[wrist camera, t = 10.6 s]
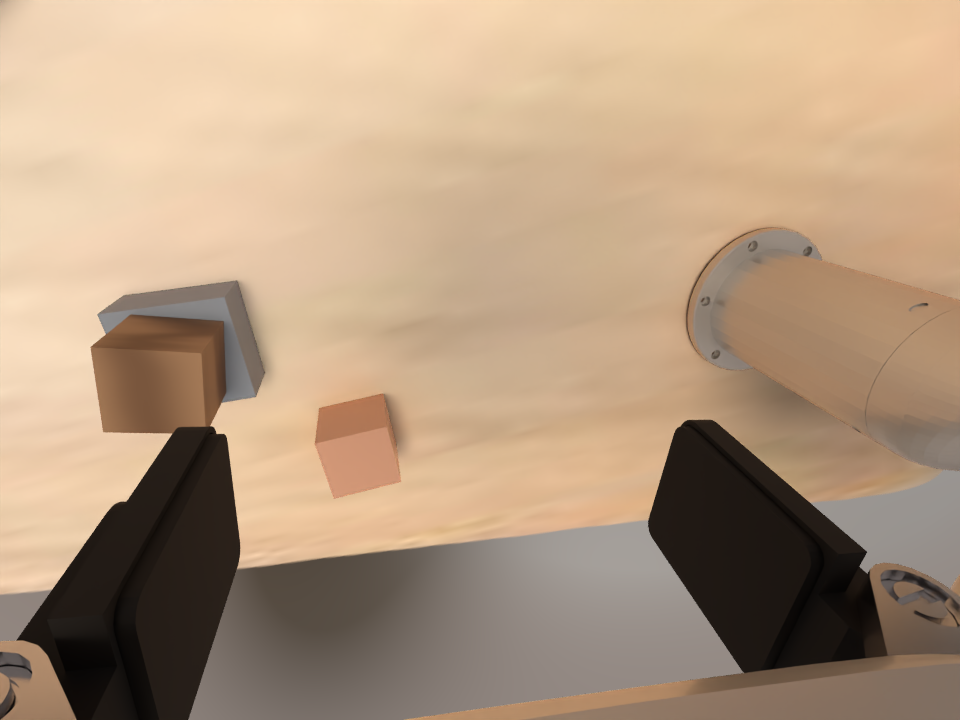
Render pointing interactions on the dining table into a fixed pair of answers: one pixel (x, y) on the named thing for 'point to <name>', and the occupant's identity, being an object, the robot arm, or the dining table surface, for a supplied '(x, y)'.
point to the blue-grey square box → (204, 305)
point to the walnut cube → (160, 374)
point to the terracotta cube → (357, 446)
